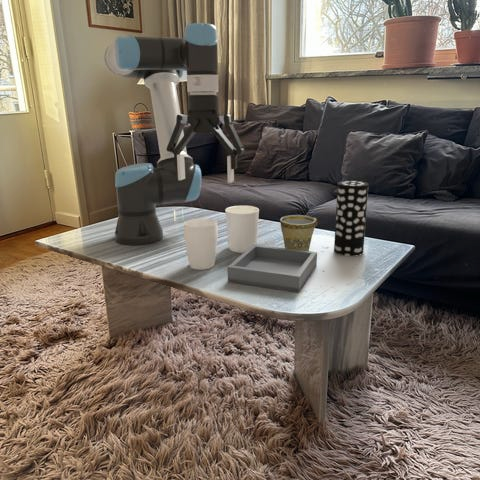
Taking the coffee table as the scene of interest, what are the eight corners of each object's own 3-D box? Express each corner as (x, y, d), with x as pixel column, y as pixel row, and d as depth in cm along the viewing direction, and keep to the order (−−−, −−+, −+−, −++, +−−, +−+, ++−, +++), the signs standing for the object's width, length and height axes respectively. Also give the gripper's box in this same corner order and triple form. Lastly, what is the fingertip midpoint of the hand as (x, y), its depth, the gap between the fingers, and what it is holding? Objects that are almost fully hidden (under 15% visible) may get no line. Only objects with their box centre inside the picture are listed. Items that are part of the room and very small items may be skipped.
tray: (227, 281, 112) (227, 266, 111) (253, 258, 128) (253, 244, 126) (299, 292, 105) (299, 276, 104) (316, 266, 121) (317, 252, 120)
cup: (217, 271, 118) (216, 227, 115) (183, 271, 119) (180, 227, 115) (219, 259, 127) (218, 218, 123) (187, 259, 127) (185, 218, 124)
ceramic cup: (297, 261, 125) (298, 226, 122) (272, 252, 132) (272, 219, 129) (328, 251, 133) (330, 218, 130) (303, 243, 140) (304, 211, 137)
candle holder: (223, 253, 132) (222, 213, 128) (229, 242, 141) (228, 205, 138) (257, 254, 131) (257, 214, 127) (260, 243, 140) (260, 205, 136)
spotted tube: (335, 245, 137) (339, 180, 131) (364, 248, 135) (369, 181, 129) (332, 254, 130) (336, 185, 124) (362, 257, 127) (367, 186, 121)
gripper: (149, 94, 111) (155, 180, 117) (247, 93, 103) (247, 185, 110) (163, 94, 118) (168, 175, 124) (256, 93, 110) (256, 180, 117)
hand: (205, 180), depth 117 cm, fingers open, 13 cm apart
